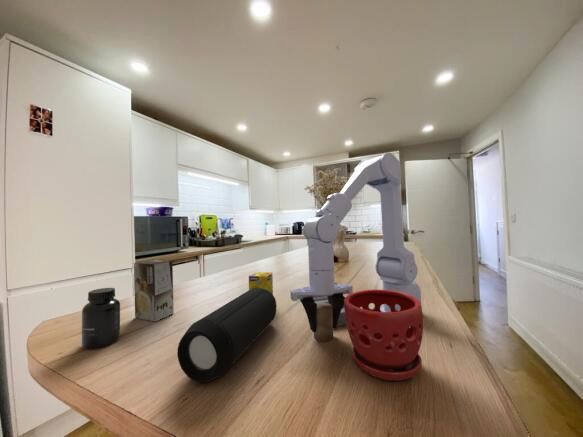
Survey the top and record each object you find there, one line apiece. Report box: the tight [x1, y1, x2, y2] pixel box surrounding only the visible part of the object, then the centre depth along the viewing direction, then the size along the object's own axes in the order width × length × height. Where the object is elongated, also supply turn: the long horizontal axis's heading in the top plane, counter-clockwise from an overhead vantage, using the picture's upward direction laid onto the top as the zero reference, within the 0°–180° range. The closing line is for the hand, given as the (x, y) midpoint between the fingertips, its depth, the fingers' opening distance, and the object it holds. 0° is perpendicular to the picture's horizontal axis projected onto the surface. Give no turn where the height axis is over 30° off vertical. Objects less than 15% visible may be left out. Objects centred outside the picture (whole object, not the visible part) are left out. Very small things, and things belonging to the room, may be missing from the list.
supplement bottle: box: [81, 287, 121, 351], centre depth 53 cm, size 7×7×12 cm
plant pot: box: [344, 288, 424, 382], centre depth 42 cm, size 13×13×12 cm
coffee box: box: [133, 259, 175, 322], centre depth 69 cm, size 9×6×16 cm
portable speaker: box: [176, 288, 277, 383], centre depth 50 cm, size 26×10×10 cm, turn 163°
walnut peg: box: [313, 303, 334, 343], centre depth 53 cm, size 4×4×7 cm
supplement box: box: [248, 271, 274, 295], centre depth 71 cm, size 6×6×11 cm
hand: (323, 328), depth 53 cm, fingers closed on walnut peg, 4 cm apart
